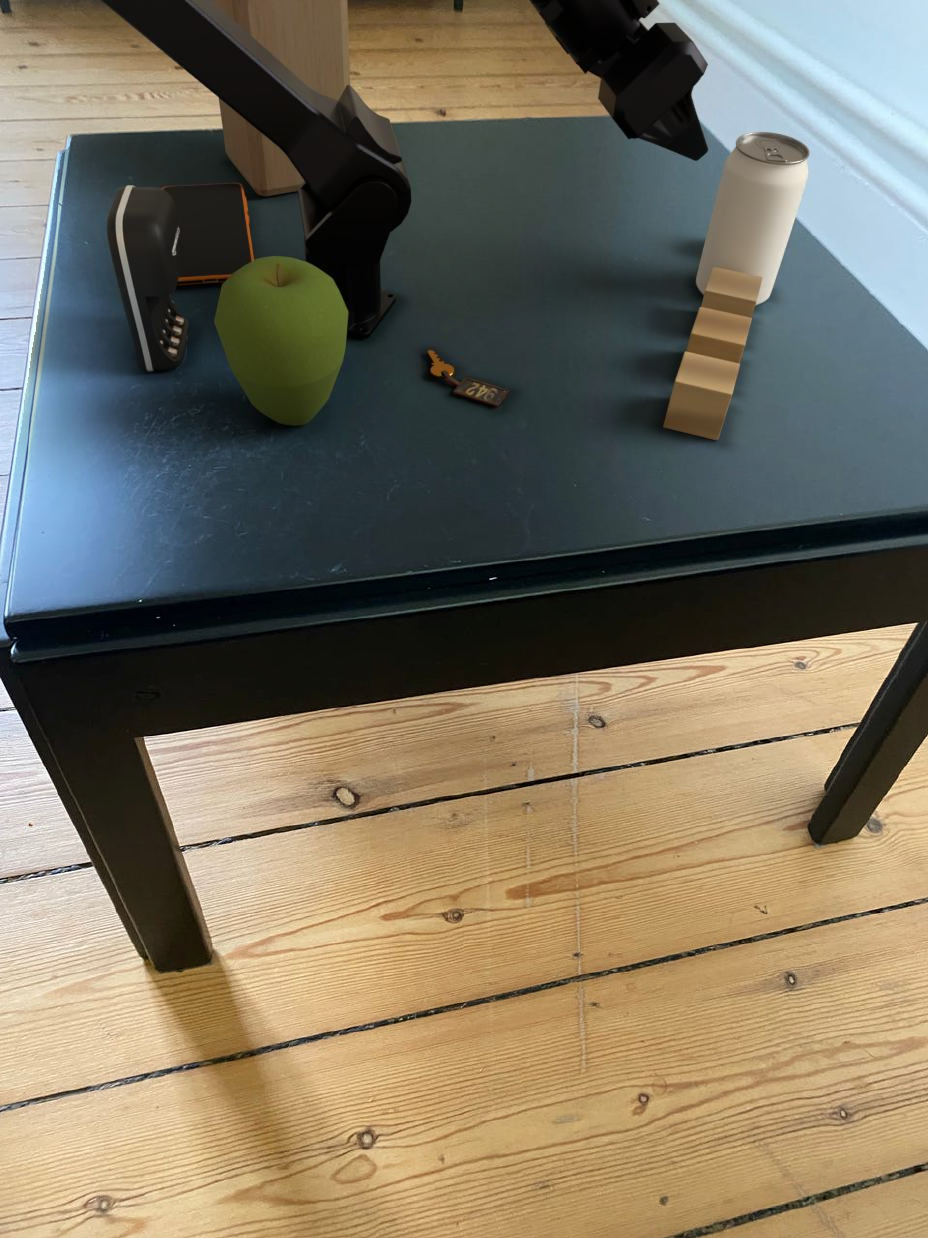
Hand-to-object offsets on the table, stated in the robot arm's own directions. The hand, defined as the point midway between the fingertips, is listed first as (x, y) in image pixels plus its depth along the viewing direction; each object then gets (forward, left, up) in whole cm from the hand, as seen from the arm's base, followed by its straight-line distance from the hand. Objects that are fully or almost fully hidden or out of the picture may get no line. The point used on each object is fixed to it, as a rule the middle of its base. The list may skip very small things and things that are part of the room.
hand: (680, 128), depth 71 cm
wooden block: (+8, +37, -14) cm, 40 cm away
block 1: (-3, -7, -14) cm, 15 cm away
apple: (-27, +20, -14) cm, 36 cm away
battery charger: (-23, +32, -14) cm, 42 cm away
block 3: (-16, -7, -14) cm, 22 cm away
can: (+4, -7, -14) cm, 16 cm away
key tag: (-18, +10, -14) cm, 24 cm away
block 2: (-9, -7, -14) cm, 18 cm away
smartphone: (-6, +38, -14) cm, 41 cm away
